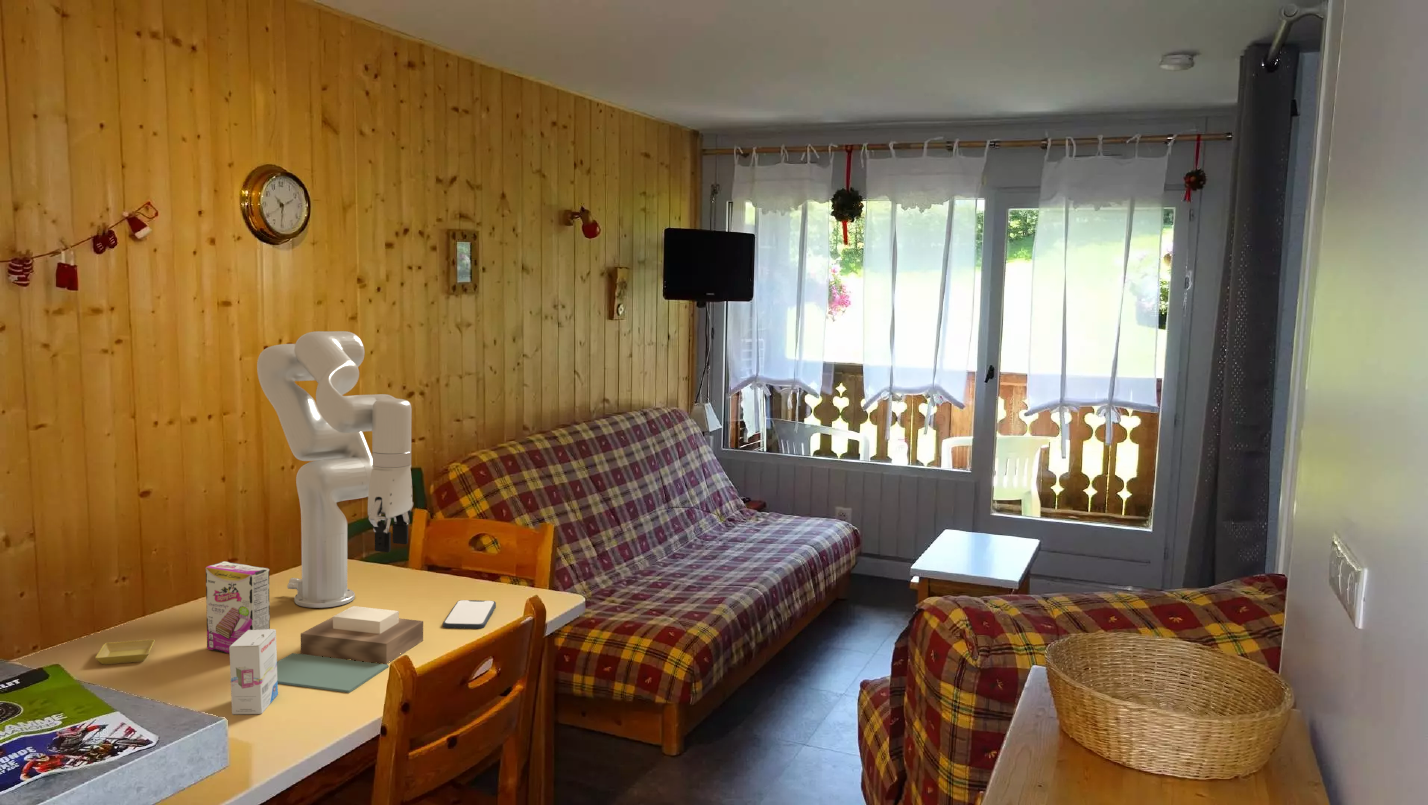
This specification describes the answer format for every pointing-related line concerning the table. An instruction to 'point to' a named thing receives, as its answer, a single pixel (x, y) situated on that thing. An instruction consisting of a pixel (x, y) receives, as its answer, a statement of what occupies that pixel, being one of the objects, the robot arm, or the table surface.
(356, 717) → the table surface
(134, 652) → the yellow square dish
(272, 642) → the ink box
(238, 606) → the candy bar box
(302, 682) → the mat
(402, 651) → the block
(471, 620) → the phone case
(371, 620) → the tile
